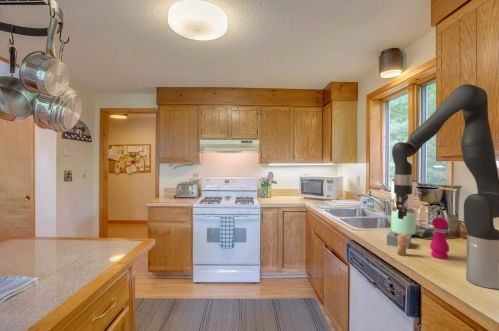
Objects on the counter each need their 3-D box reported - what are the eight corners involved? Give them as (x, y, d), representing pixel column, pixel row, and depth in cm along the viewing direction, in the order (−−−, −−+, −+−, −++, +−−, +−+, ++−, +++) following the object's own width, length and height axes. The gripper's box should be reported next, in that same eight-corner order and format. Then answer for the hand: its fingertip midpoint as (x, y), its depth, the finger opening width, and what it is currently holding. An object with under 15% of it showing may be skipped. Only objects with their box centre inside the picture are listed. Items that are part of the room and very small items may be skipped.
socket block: (411, 244, 137) (411, 235, 137) (408, 248, 129) (408, 239, 129) (390, 240, 143) (390, 231, 143) (386, 244, 136) (386, 235, 136)
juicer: (399, 230, 165) (400, 177, 164) (421, 235, 153) (422, 179, 152) (382, 234, 155) (382, 178, 155) (404, 240, 144) (405, 179, 143)
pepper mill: (434, 258, 116) (435, 215, 116) (427, 253, 123) (427, 212, 123) (452, 260, 114) (453, 216, 114) (444, 254, 121) (444, 213, 121)
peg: (406, 254, 121) (406, 234, 121) (405, 256, 118) (405, 235, 118) (398, 252, 123) (398, 232, 123) (397, 254, 120) (397, 234, 120)
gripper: (409, 185, 112) (409, 221, 113) (414, 183, 123) (413, 216, 123) (391, 184, 117) (390, 218, 118) (397, 182, 128) (396, 214, 128)
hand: (402, 217), depth 121 cm, fingers open, 8 cm apart
